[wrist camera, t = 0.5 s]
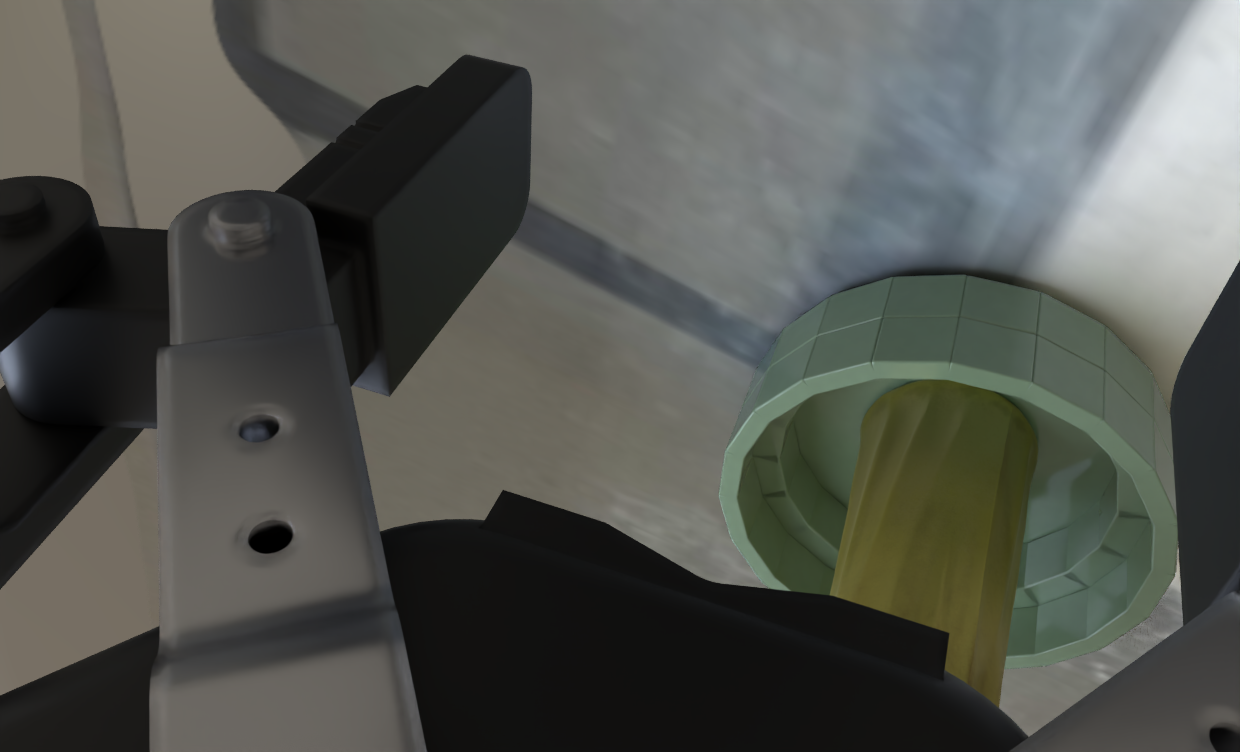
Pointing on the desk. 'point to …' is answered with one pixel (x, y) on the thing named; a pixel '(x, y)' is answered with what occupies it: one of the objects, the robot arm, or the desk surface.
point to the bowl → (989, 359)
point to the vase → (941, 519)
